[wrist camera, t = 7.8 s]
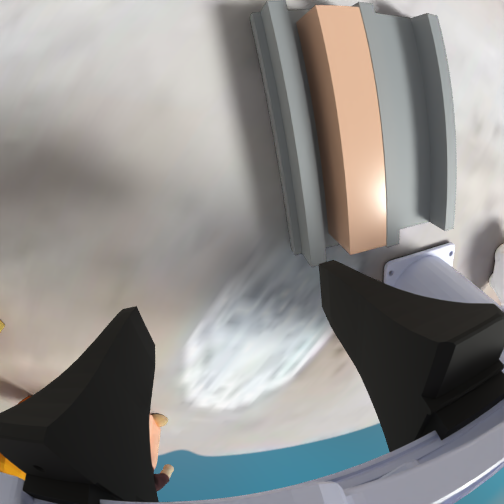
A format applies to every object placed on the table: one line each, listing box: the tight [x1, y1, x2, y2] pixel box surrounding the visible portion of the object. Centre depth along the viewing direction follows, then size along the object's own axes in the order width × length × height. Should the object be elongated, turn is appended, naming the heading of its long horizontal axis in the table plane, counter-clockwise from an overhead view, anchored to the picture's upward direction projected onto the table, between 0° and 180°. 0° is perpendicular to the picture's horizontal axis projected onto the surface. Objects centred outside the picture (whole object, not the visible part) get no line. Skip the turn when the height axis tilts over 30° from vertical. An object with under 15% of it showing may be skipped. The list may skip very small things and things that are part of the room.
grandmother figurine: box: [149, 414, 174, 492], centre depth 21 cm, size 8×4×13 cm, turn 63°
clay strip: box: [296, 5, 386, 255], centre depth 16 cm, size 14×2×4 cm, turn 10°
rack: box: [250, 0, 457, 267], centre depth 17 cm, size 16×13×3 cm
